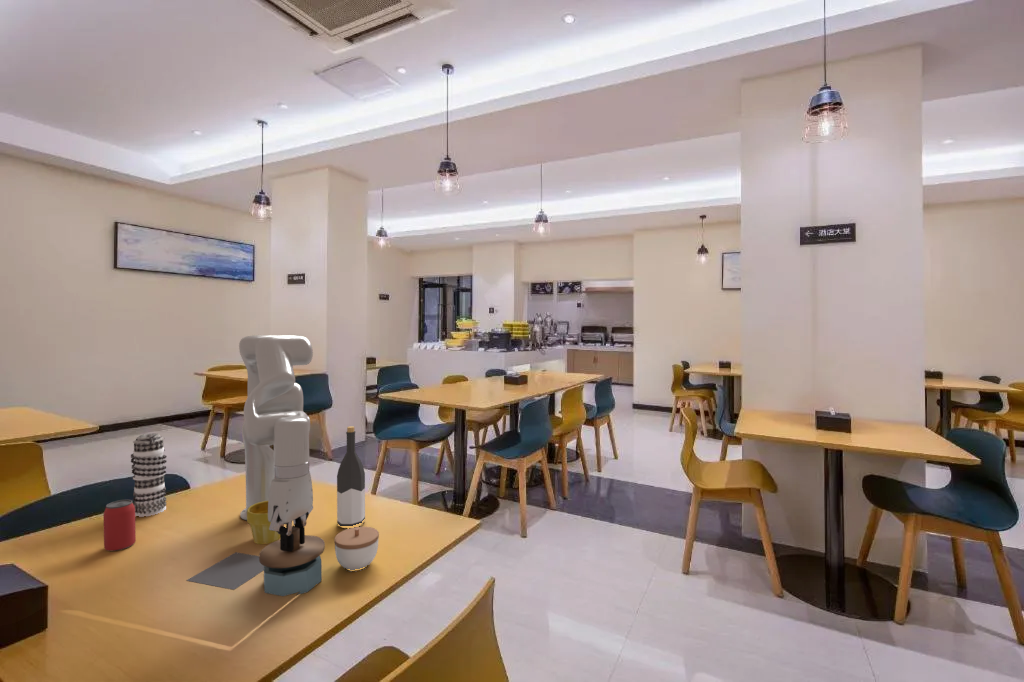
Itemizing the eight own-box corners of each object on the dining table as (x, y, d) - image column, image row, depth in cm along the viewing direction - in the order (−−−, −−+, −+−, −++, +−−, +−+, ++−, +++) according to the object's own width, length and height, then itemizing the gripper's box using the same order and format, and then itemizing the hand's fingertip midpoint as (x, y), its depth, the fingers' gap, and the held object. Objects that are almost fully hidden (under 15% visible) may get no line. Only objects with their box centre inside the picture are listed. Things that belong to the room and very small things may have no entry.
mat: (235, 554, 122) (235, 552, 122) (279, 561, 119) (279, 559, 119) (186, 582, 109) (186, 580, 109) (234, 592, 105) (234, 589, 105)
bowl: (290, 566, 117) (289, 546, 117) (331, 573, 114) (330, 553, 114) (251, 592, 105) (251, 570, 105) (296, 601, 102) (296, 578, 102)
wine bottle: (364, 516, 147) (364, 423, 146) (365, 527, 140) (365, 428, 139) (337, 520, 144) (336, 425, 143) (337, 531, 137) (336, 430, 136)
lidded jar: (387, 558, 121) (387, 523, 121) (361, 580, 111) (361, 541, 110) (353, 552, 124) (353, 517, 124) (325, 572, 114) (324, 534, 114)
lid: (289, 536, 118) (289, 514, 118) (336, 543, 114) (336, 521, 114) (244, 563, 104) (244, 539, 104) (296, 572, 101) (296, 547, 100)
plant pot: (296, 536, 133) (296, 503, 133) (264, 552, 124) (263, 516, 123) (271, 529, 138) (271, 497, 137) (238, 544, 128) (238, 509, 128)
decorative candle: (128, 512, 149) (126, 435, 149) (163, 503, 156) (162, 430, 156) (135, 520, 143) (133, 440, 143) (171, 511, 151) (169, 435, 150)
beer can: (117, 553, 123) (116, 508, 122) (97, 550, 124) (96, 506, 124) (141, 542, 129) (141, 499, 129) (122, 539, 130) (121, 497, 130)
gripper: (302, 459, 117) (303, 530, 118) (250, 479, 102) (251, 561, 102) (328, 461, 115) (328, 533, 116) (279, 482, 100) (280, 566, 100)
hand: (292, 546), depth 109 cm, fingers closed on lid, 3 cm apart
